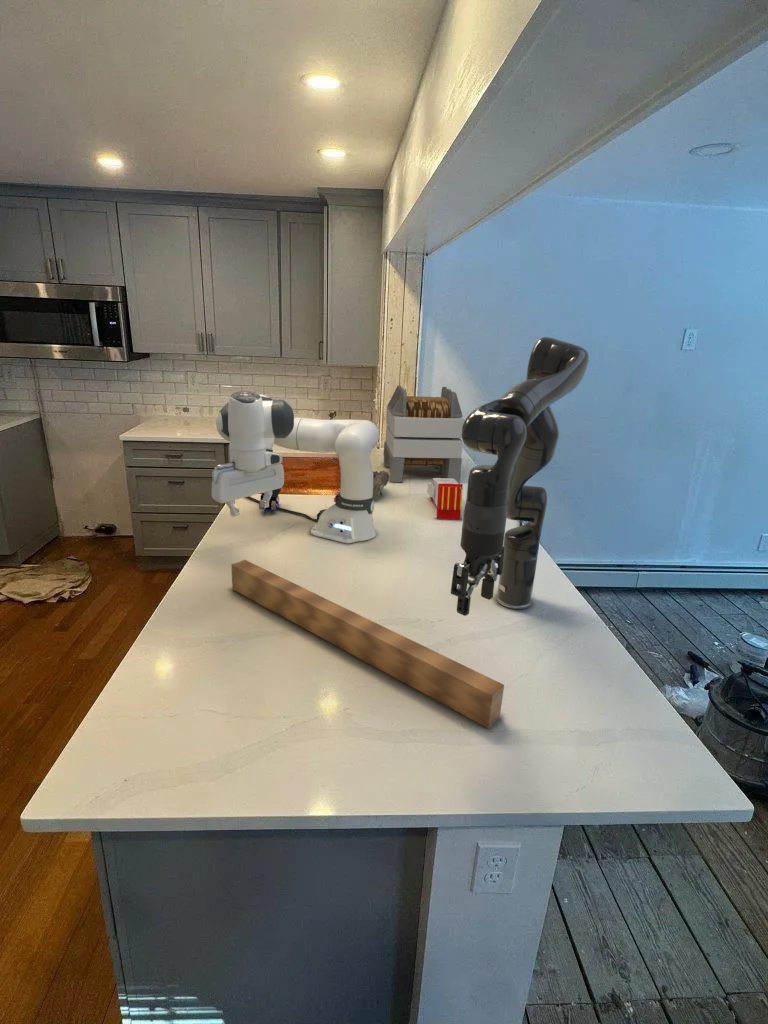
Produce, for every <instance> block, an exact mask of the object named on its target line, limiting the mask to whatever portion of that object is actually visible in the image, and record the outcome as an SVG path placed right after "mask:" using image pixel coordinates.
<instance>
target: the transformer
mask: <svg viewBox="0 0 768 1024" xmlns="http://www.w3.org/2000/svg"><path fill="white" fill-rule="evenodd" d="M440 393H441V394H440V396H415V395H414V396H413V395H412V396H411V395H407V394H408V393H407V390H406V389H404V388H403V387H402V385H399V384H398V385H397V386H396V388H395V390H394V392H393V394H392V395H391V398H390V400H389V402H388V404H387V405H386V413H385V414H386V415H385V423H386V428H385V438H384V442H383V466H384V467H388V468H389V474H388V475H389V481H390V482H391V483H402V482H403V475H404V469H405V466H406V467H407V466H411V467H412V466H413V467H415V466H416V467H417V466H418V467H436V468H437V470H438V469H439V473H440V474H441V475H443V478H454V479H455V480H456V481H457V482H458V483H459V484H460V483H461V472H462V461H463V460H462V453H463V444H464V442H463V440H462V427H463V424H464V421H465V420H466V419H464V418H463V411H462V408H461V405H460V402H459V398H458V395H457V392H455V391H453V390H452V389H451V388H447V386H442V387H441V392H440Z"/></svg>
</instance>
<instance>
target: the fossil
mask: <svg viewBox="0 0 768 1024" xmlns="http://www.w3.org/2000/svg"><path fill="white" fill-rule="evenodd" d="M389 475H390V474H389V472H387V471H385V470H380V471H379V472H378V471H377V470H376V471H373V496H374V498H376V496H377V495H378V494H380V495H381V496H383V493H382V491H383V489H384V488H385V487H387V485H388V482H389V481H390V478H389Z"/></svg>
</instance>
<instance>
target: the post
mask: <svg viewBox="0 0 768 1024" xmlns="http://www.w3.org/2000/svg"><path fill="white" fill-rule="evenodd" d="M230 569H231V586H232V587H231V588H232V590H233V591H235V592H237V593H238V594H241V595H242V596H244V597H246V598H247V599H250V600H251V601H253V602H255V603H257V604H258V605H261V606H263V607H264V608H266V609H268V610H270V611H272V612H273V613H276V614H277V615H279V616H281V617H283V618H285V620H288V621H290V622H292V623H294V624H295V625H298V626H299V627H301V628H303V629H305V630H307V631H308V632H310V633H312V634H314V635H315V636H317V637H319V638H321V639H322V640H325V641H327V642H328V643H330V644H332V645H334V646H336V647H338V648H340V649H342V650H343V651H345V652H347V653H348V654H350V655H353V656H354V657H356V658H358V659H359V660H362V661H363V662H365V663H366V664H367V663H368V664H369V665H371V666H372V667H374V668H376V669H378V670H380V671H382V672H384V673H386V674H387V675H389V676H391V677H393V678H395V679H396V680H397V681H400V682H402V683H404V684H406V685H408V686H410V687H411V688H413V689H415V690H416V691H417V690H418V691H419V692H420V693H422V694H424V695H426V696H428V697H430V698H431V699H433V700H435V701H437V702H439V703H441V704H442V705H444V706H445V707H448V708H450V709H452V710H453V711H455V712H457V713H459V714H461V715H463V716H465V717H466V718H468V719H470V720H472V721H474V722H476V723H477V724H479V725H481V726H483V727H485V728H487V729H489V728H491V726H492V725H493V724H494V723H495V722H497V720H498V719H499V718H500V717H501V710H502V703H503V696H504V689H505V684H503V683H501V682H499V681H497V680H496V679H493V678H492V677H489V676H487V675H485V674H483V673H480V672H479V671H476V670H474V669H473V668H471V667H468V666H466V665H464V664H462V663H460V662H457V661H456V660H453V659H452V658H450V657H447V656H446V655H444V654H441V653H440V652H437V651H435V650H433V649H431V648H429V647H427V646H425V645H423V644H421V643H419V642H417V641H414V640H412V639H410V638H408V637H406V636H404V635H402V634H400V633H398V632H396V631H394V630H391V629H389V628H387V627H385V626H384V625H381V624H379V623H377V622H375V621H374V620H371V619H369V618H367V617H365V616H362V615H361V614H359V613H357V612H354V611H352V610H350V609H348V608H346V607H344V606H342V605H340V604H337V603H336V602H333V601H331V600H329V599H327V598H325V597H323V596H321V595H319V594H317V593H315V592H313V591H311V590H309V589H307V588H305V587H303V586H301V585H299V584H296V583H295V582H292V581H290V580H289V579H286V578H284V577H281V576H280V575H278V574H275V573H273V572H272V571H269V570H267V569H265V568H264V567H261V566H258V565H257V564H255V563H253V562H250V561H249V560H246V559H242V560H240V561H236V562H234V563H231V567H230Z"/></svg>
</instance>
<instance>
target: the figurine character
mask: <svg viewBox="0 0 768 1024" xmlns="http://www.w3.org/2000/svg"><path fill="white" fill-rule="evenodd" d="M281 490H282V488H279V489H275V490H272V496H271V498H270V500H269V507H266V508H263V507H261V506H260V504H261V503H258V509H259V511H263V512H262V513H263V514H264V515H266V513H267V512H270V515H273V514H274V513H275V511H276V510H277V509H276V507H280V503H279V502H280V496H279V495H280V492H281ZM264 494H265V493H260V500H263V497H264ZM260 500H259V501H260Z"/></svg>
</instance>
